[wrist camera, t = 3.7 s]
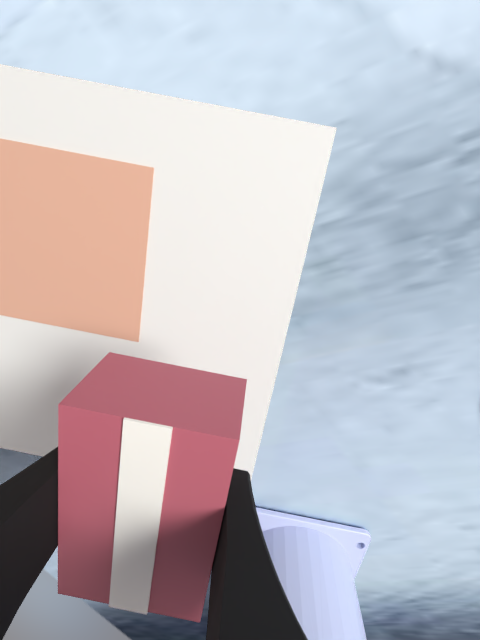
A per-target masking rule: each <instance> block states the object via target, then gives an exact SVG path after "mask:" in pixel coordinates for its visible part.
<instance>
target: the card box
mask: <svg viewBox="0 0 480 640" xmlns="http://www.w3.org/2000/svg"><path fill="white" fill-rule="evenodd" d="M246 383H247V379H243V378H238V377H233V376H228V375H223V374H218V373H213V372H208V371H203V370H198V369H193V368H187V367H182V366H177V365H172V364H167V363H162V362H157V361H152V360H147V359H142V358H137V357H132V356H127V355H122V354H116V353H111V352H109V353H108V354H107V355H106V356H105V357H104V358H103V359H102V360H101V361H100V362H99V363H98V364H97V365H96V366H95V367H94V368H93V369H92V370H91V371H90V372H89V373H88V374H87V375H86V376H85V377H84V378H83V379H82V380H81V381H80V382H79V384H78V385H77V386H76V387H75V388H74V389H73V390H72V391H71V392H70V393H69V394H68V395H67V396H66V397H65V398H64V399H63V400H62V401H61V402H60V403H59V404H58V594H63V595H68V596H73V597H78V598H83V599H88V600H92V601H97V602H102V603H107V604H109V607H112V608H117V609H122V610H127V611H131V612H136V613H141V614H146V615H147V612H151V613H156V614H161V615H166V616H170V617H175V618H180V619H185V620H190V621H195V622H200V620H201V615H202V611H203V606H204V601H205V597H206V592H207V588H208V583H209V578H210V574H211V569H212V565H213V560H214V555H215V551H216V546H217V542H218V537H219V532H220V528H221V523H222V519H223V514H224V509H225V505H226V500H227V496H228V491H229V487H230V482H231V477H232V473H233V468H234V464H235V459H236V454H237V450H238V445H239V441H240V433H241V424H242V416H243V408H244V399H245V391H246Z"/></svg>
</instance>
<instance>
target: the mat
mask: <svg viewBox="0 0 480 640" xmlns="http://www.w3.org/2000/svg"><path fill="white" fill-rule="evenodd" d="M336 129H337V128H335V127H330V126H324V125H319V124H314V123H308V122H303V121H298V120H293V119H287V118H282V117H277V116H271V115H266V114H261V113H256V112H250V111H245V110H240V109H234V108H229V107H224V106H218V105H213V104H208V103H203V102H197V101H192V100H187V99H181V98H176V97H171V96H166V95H160V94H155V93H150V92H144V91H139V90H134V89H129V88H123V87H118V86H113V85H107V84H102V83H97V82H91V81H86V80H81V79H76V78H70V77H65V76H60V75H54V74H49V73H44V72H39V71H33V70H28V69H23V68H17V67H12V66H7V65H1V64H0V448H3V449H8V450H13V451H18V452H23V453H28V454H33V455H38V456H45V455H46V454H48V453H49V452H50V451H52V450H53V449H55V448H56V447H58V404H59V403H60V402H61V401H62V400H63V399H64V398H65V397H66V396H67V395H68V394H69V393H70V392H71V391H72V390H73V389H74V388H75V387H76V386H77V385H78V384H79V382H80V381H81V380H82V379H83V378H84V377H85V376H86V375H87V374H88V373H89V372H90V371H91V370H92V369H93V368H94V367H95V366H96V365H97V364H98V363H99V362H100V361H101V360H102V359H103V358H104V357H105V356H106V355H107V354H108V353H109V352H111V353H116V354H122V355H127V356H132V357H137V358H142V359H147V360H152V361H157V362H162V363H167V364H172V365H177V366H182V367H187V368H193V369H198V370H203V371H208V372H213V373H218V374H223V375H228V376H233V377H238V378H243V379H247V383H246V391H245V399H244V408H243V416H242V424H241V433H240V441H239V445H238V450H237V454H236V459H235V464H234V468H235V469H240V470H245V471H248V472H249V474H250V479H251V478H252V474H253V470H254V466H255V462H256V458H257V453H258V449H259V445H260V441H261V437H262V433H263V429H264V425H265V421H266V416H267V412H268V408H269V404H270V400H271V396H272V392H273V388H274V384H275V379H276V375H277V371H278V367H279V363H280V359H281V355H282V351H283V347H284V342H285V338H286V334H287V330H288V326H289V322H290V318H291V314H292V310H293V305H294V301H295V297H296V293H297V289H298V285H299V281H300V277H301V273H302V268H303V264H304V260H305V256H306V252H307V248H308V244H309V240H310V236H311V232H312V227H313V223H314V219H315V215H316V211H317V207H318V203H319V199H320V195H321V190H322V186H323V182H324V178H325V174H326V170H327V166H328V162H329V158H330V153H331V149H332V145H333V141H334V137H335V133H336Z"/></svg>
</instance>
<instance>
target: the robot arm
mask: <svg viewBox="0 0 480 640" xmlns="http://www.w3.org/2000/svg"><path fill="white" fill-rule="evenodd" d="M370 542H371V536H370V533H369V532H368V531H367V530H365V529H361V528H356V527H351V526H346V525H341V524H336V523H331V522H327V521H322V520H317V519H312V518H307V517H302V516H297V515H292V514H287V513H282V512H277V511H272V510H267V509H262V508H257V507H255V502H254V498H253V493H252V487H251V479H250V474H249V472H248V471H245V470H240V469H235V468H233V473H232V477H231V482H230V487H229V491H228V496H227V500H226V505H225V509H224V514H223V519H222V523H221V528H220V532H219V537H218V542H217V546H216V551H215V555H214V560H213V565H212V573H211V585H210V598H209V611H208V624H207V635H206V640H367V639H366V634H365V629H364V625H363V620H362V615H361V611H360V606H359V601H358V597H357V592H356V587H355V583H354V579H355V577H356V575H357V572H358V570H359V568H360V565H361V563H362V560H363V558H364V556H365V553H366V551H367V549H368V546H369V544H370ZM57 546H58V447H56V448H55V449H53V450H52V451H50V452H49V453H48V454H46V455H45V456H43V457H42V458H40V459H39V460H38V461H36V462H35V463H33V464H32V465H30V466H29V467H27V468H26V469H24V470H23V471H21V472H20V473H18V474H17V475H15V476H14V477H12V478H11V479H9V480H8V481H6V482H4V483H3V484H1V485H0V640H2V639H3V636H4V635H5V633H6V631H7V629H8V628H9V626H10V624H11V622H12V620H13V618H14V616H15V614H16V612H17V610H18V609H19V607H20V605H21V604H22V602H23V600H24V598H25V597H26V595H27V593H28V592H29V590H30V588H31V587H32V585H33V583H34V582H35V580H36V579H37V577H38V576H39V574H40V573H41V571H42V569H43V568H44V566H45V565H46V563H47V562H48V560H49V558H50V557H51V555H52V554H53V552H54V550H55V549H56V547H57Z"/></svg>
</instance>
